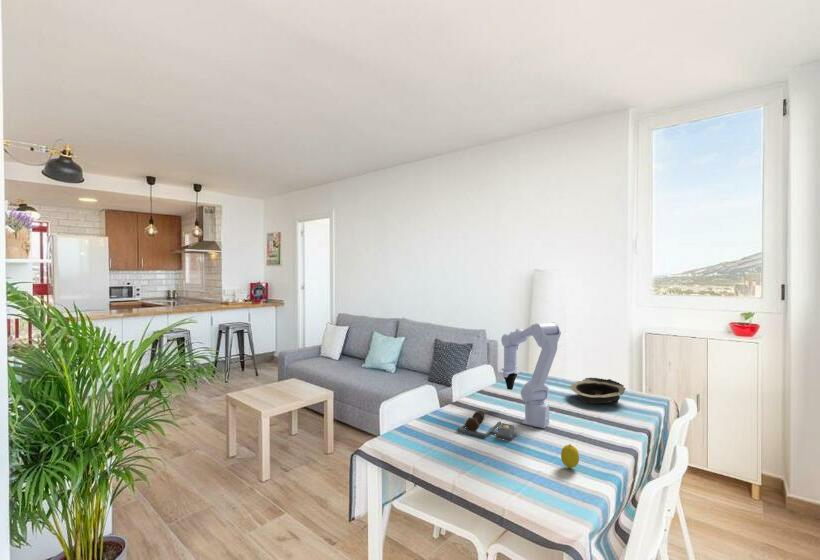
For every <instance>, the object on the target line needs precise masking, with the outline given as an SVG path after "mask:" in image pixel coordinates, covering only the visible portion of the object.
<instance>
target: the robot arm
mask: <svg viewBox="0 0 820 560" xmlns="http://www.w3.org/2000/svg"><path fill="white" fill-rule="evenodd" d="M561 334H562V332H561V330H560V327H559V325H558V324H557V323H556V322H545V323H534V324H531V325H530V326H528V327H527V328H525V329H521V328H516V329H515V330H514V331H511V332H510V333H509V334H507V333H506V334H505V333H504V334H502V336H501V340H500V341H501V345H502V346H503V367H502V368H501V369H500V371H503V372H502V377H503V379H504V381H505V384H506V389H507V390H510V391H512V390H513V388H514V385H515V381H516V379H517V376H518V373H517V371H518V366H517V363H518V361H517V359H518V358H517V357H518V356H517V354H518V353H517V351H518V349H519V346H520V344H522V343H524V342H526V341H527V340H528V338H530V337H533V338H534V341H535V342H536V344H537V346H538V347H540V348H541V350H540V354H539V355H538V358H537V361H536V364H535V367H534V370H533V374H532V376H531V379H530V380H528V381H527V382H526V383H524V386H523V387H522V388H521V391H520V397H521V399H522V400H523V402H524V405H525V406H524V411H525V412H524V419H523V421H522V422H521V424H524V425H528V426H531V427H537V428H540V429H541V428H542V429H545V428H546V427H547V426H548V425H549V423H550V405H549V404H547V403H545V402H546V400H547V399H548V395H549V394H548V391H549V387H548V384H547V383H546V381H547V380H548V379H547V378H548V376H549V373H550V371H551V368H552V365H553V362H554V359H555V357H556V353H557V350H558V343H559V340H560V337H561Z"/></svg>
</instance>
